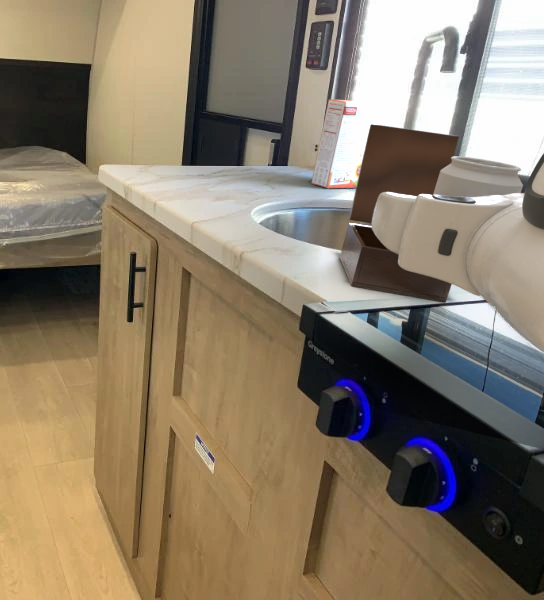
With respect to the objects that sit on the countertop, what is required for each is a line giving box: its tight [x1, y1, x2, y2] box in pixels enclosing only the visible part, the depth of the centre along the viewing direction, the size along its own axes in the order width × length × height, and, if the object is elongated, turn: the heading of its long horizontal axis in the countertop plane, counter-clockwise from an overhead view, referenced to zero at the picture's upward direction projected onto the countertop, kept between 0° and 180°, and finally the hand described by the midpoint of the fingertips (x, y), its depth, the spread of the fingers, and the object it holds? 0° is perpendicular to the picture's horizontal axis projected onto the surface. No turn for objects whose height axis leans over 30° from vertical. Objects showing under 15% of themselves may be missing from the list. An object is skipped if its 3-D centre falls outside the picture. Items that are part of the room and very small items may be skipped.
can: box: [433, 155, 524, 197], centre depth 61 cm, size 8×8×12 cm
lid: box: [348, 124, 460, 224], centre depth 90 cm, size 14×12×5 cm
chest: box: [339, 222, 453, 303], centre depth 84 cm, size 13×12×6 cm
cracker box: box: [310, 98, 384, 189], centre depth 150 cm, size 14×6×21 cm, turn 122°
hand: (465, 213), depth 62 cm, fingers closed on can, 7 cm apart
